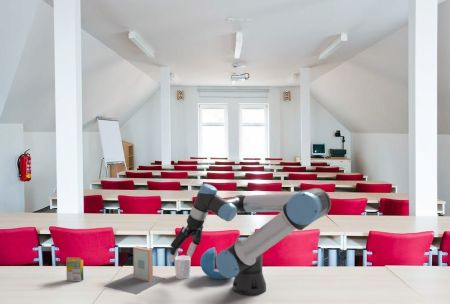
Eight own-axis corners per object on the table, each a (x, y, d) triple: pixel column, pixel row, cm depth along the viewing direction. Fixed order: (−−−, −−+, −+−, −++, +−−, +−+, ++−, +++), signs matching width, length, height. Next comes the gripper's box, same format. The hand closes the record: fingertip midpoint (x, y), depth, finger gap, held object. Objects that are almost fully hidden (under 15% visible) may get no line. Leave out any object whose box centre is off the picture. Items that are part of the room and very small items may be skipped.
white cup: (183, 281, 190) (183, 261, 190) (171, 278, 195) (171, 258, 194) (194, 277, 196) (194, 257, 196) (182, 273, 201) (182, 254, 201)
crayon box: (83, 279, 194) (83, 255, 194) (80, 281, 191) (80, 257, 191) (69, 278, 195) (69, 255, 194) (66, 281, 192) (66, 257, 191)
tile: (152, 279, 191) (152, 249, 190) (149, 281, 189) (149, 250, 188) (136, 276, 196) (136, 246, 195) (133, 277, 194) (133, 247, 193)
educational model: (238, 283, 187) (238, 252, 187) (199, 283, 188) (198, 252, 187) (238, 272, 203) (238, 243, 202) (201, 272, 203) (201, 243, 203)
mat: (167, 279, 193) (167, 278, 193) (136, 295, 174) (136, 294, 174) (135, 272, 203) (135, 271, 203) (103, 287, 183) (103, 286, 183)
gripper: (206, 210, 190) (190, 249, 194) (173, 215, 169) (156, 258, 173) (218, 218, 187) (201, 257, 190) (186, 223, 165) (168, 267, 169)
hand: (180, 258), depth 181 cm, fingers open, 13 cm apart
